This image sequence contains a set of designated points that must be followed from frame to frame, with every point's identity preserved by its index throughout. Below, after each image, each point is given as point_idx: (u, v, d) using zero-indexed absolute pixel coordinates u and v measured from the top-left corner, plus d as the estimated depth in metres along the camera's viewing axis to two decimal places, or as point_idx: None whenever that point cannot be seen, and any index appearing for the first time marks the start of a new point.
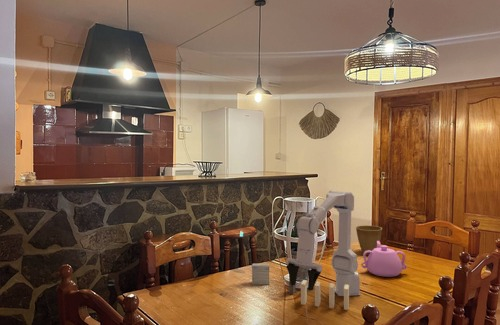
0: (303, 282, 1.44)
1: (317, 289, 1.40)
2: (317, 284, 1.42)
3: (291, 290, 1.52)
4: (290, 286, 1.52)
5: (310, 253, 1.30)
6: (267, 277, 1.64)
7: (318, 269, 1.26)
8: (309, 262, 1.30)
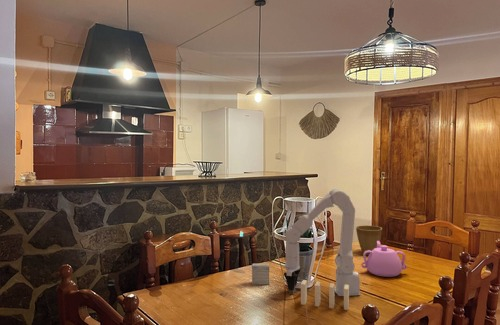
0: (303, 282, 1.44)
1: (317, 289, 1.40)
2: (317, 284, 1.42)
3: (291, 290, 1.52)
4: None
5: (289, 259, 1.52)
6: (267, 277, 1.64)
7: (286, 273, 1.48)
8: (289, 267, 1.52)
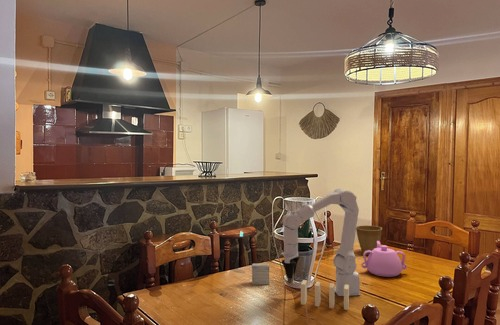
0: (303, 282, 1.44)
1: (317, 289, 1.40)
2: (317, 284, 1.42)
3: (289, 278, 1.46)
4: None
5: (288, 246, 1.46)
6: (267, 277, 1.64)
7: (284, 261, 1.42)
8: (287, 254, 1.46)
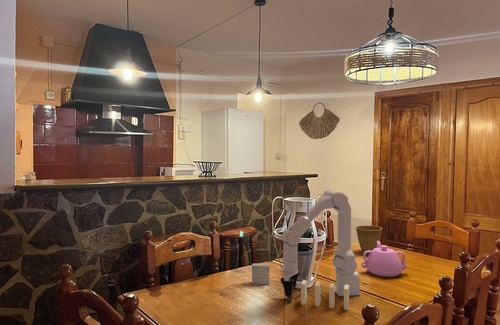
0: (303, 282, 1.44)
1: (317, 289, 1.40)
2: (317, 284, 1.42)
3: (289, 298, 1.43)
4: None
5: (287, 263, 1.43)
6: (267, 277, 1.64)
7: (284, 278, 1.40)
8: (287, 271, 1.43)
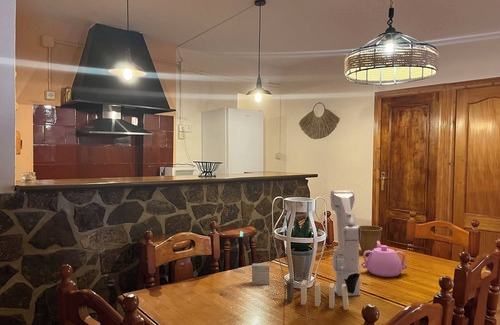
0: (303, 282, 1.44)
1: (317, 289, 1.40)
2: (317, 284, 1.42)
3: (289, 298, 1.43)
4: (288, 294, 1.44)
5: (347, 261, 1.36)
6: (267, 277, 1.64)
7: None
8: (346, 269, 1.36)
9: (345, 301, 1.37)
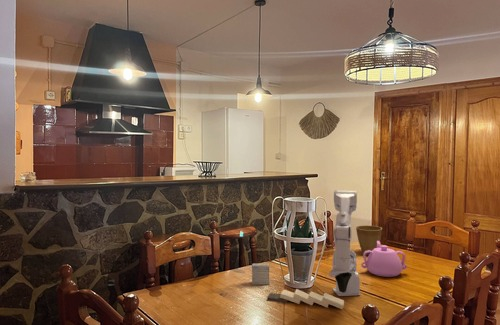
0: None
1: (297, 296, 1.42)
2: (294, 293, 1.44)
3: (282, 300, 1.44)
4: (278, 301, 1.45)
5: (337, 259, 1.38)
6: (267, 277, 1.64)
7: None
8: (337, 268, 1.38)
9: (335, 303, 1.38)
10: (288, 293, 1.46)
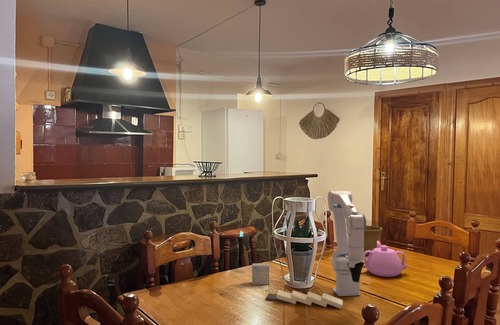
0: (277, 294, 1.46)
1: (295, 297, 1.42)
2: None
3: (280, 301, 1.44)
4: None
5: (352, 249, 1.36)
6: (267, 277, 1.64)
7: (348, 265, 1.32)
8: (352, 258, 1.36)
9: (333, 303, 1.38)
10: (284, 293, 1.46)
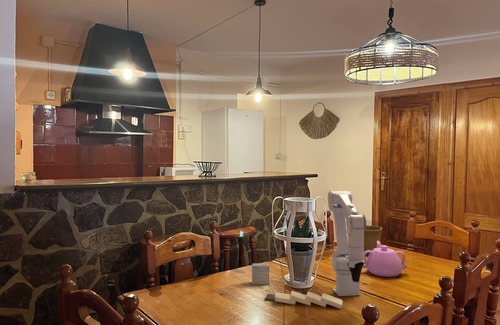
0: (275, 297, 1.44)
1: (294, 297, 1.41)
2: (290, 295, 1.43)
3: None
4: None
5: (352, 249, 1.36)
6: (267, 277, 1.64)
7: (348, 265, 1.32)
8: (352, 258, 1.36)
9: (333, 303, 1.38)
10: (281, 295, 1.44)
